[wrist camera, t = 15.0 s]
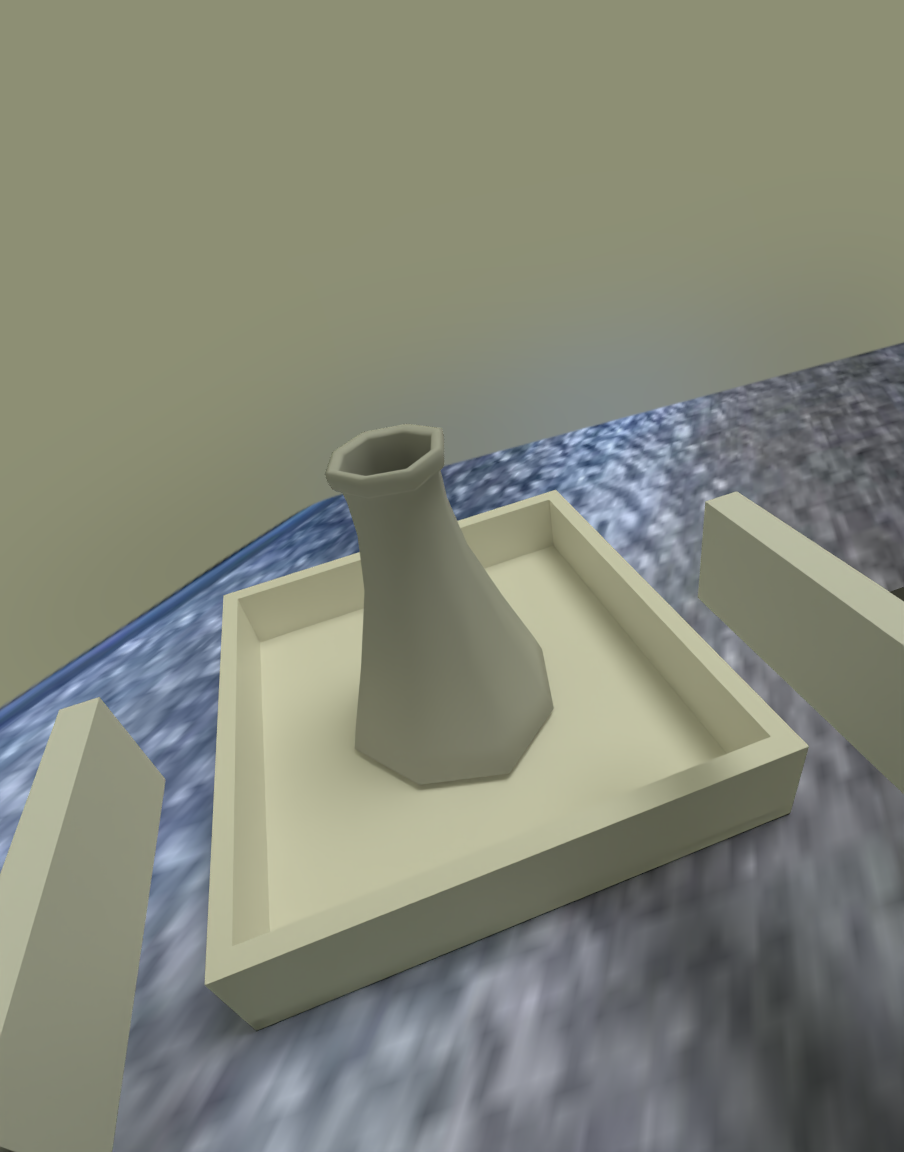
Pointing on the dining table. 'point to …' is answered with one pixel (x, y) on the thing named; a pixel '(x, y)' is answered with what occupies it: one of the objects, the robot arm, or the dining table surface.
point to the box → (469, 806)
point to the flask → (432, 622)
